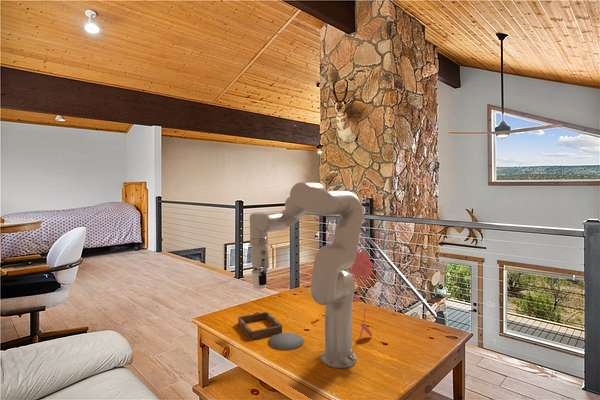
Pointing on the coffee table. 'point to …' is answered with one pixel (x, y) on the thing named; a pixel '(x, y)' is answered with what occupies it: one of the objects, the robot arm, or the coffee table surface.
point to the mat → (286, 341)
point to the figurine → (363, 269)
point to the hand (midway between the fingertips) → (259, 282)
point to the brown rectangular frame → (262, 332)
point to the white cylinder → (257, 280)
